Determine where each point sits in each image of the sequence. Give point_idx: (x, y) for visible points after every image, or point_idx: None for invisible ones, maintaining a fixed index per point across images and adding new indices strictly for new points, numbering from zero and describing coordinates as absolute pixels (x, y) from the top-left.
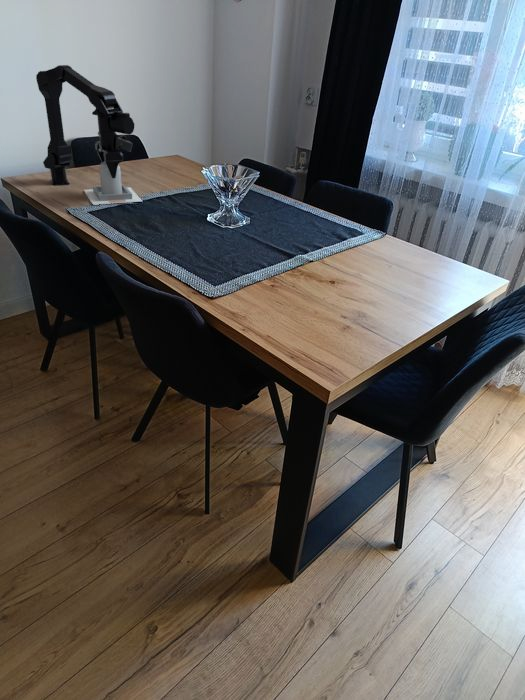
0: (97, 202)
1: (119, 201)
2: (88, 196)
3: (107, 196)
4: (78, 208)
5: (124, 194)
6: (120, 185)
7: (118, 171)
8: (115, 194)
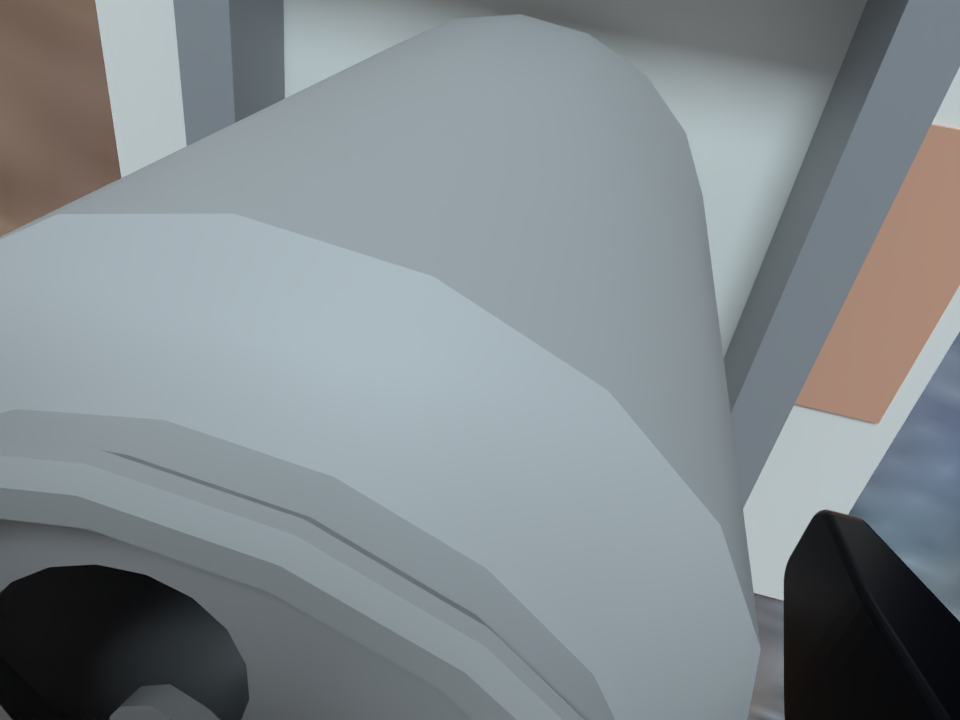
0: (753, 538)
1: (947, 266)
2: None
3: (764, 440)
4: (771, 710)
5: (922, 132)
6: (659, 149)
7: (698, 425)
8: (815, 319)
